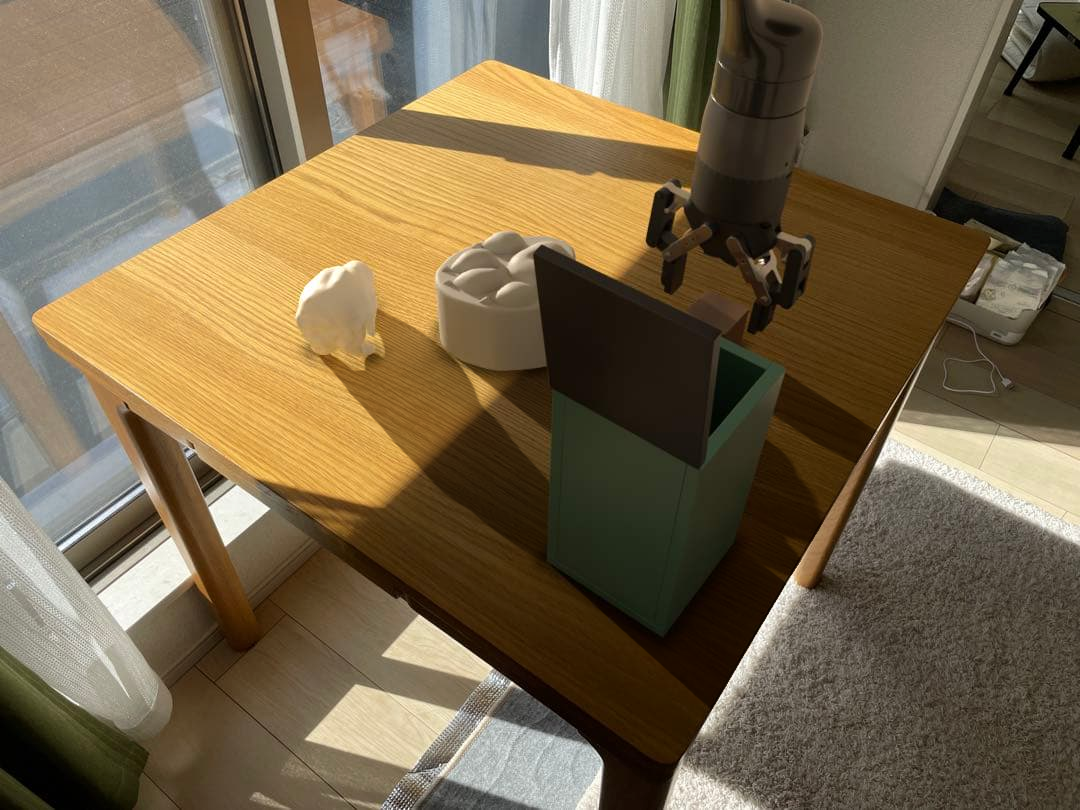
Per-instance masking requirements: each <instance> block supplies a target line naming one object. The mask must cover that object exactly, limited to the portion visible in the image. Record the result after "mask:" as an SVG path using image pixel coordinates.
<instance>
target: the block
mask: <svg viewBox="0 0 1080 810" xmlns="http://www.w3.org/2000/svg"><path fill="white" fill-rule="evenodd" d="M749 311H750V309H749V308H748V307H746V306H744V305H741V304H739V303H737V302H735V301H732V300H731V299H729V298H726V297H724V296H722V295H720V294H717V293H715V292H713V291H711V290H708V289H706V291H704V292H703V293H702V294H701V295H700V296H699V297H698V298H697V299H696V300H695V301H694V302H693V303H692V305H690V306H689V307H688V308H687V309H686V310H685V311H684V312H685V313H687V314H689V315H691V316H693V317H695V318H697V319H699V320H701V321H703V322H705V323H708V324H710V325H712V326H714V327H716V328H718V329H720V330H722V335H721V337H723V338H725V339H727V340H729V341H731V342H733V343H735V344H737V345H739V346H741V344H742V340H743V338H744V337H743V336H744V333H745V329H746V323H747V320H748V316H749Z"/></svg>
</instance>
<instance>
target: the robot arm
mask: <svg viewBox="0 0 1080 810" xmlns="http://www.w3.org/2000/svg"><path fill="white" fill-rule="evenodd" d="M719 25H720V26H719V38H718V44H717V53H716V58H715V64H714V70H713V75H712V76H713V77H712V82H711V87H710V90H709V91H710V92H709V96H708V99H707V102H706V105H705V108H704V112H703V115H702V120H701V125H700V131H699V132H700V133H699V138H698V143H697V144H698V145H697V149H696V155H695V161H694V167H693V174H692V179H691V187H690V192H689V191H687V190H685V189H682V183H681V181H680V180H679V179H678V178H675V177H672V178H670V179H669V180H668V181H667V182H666V183H665V184H663V185H662V186H661V187H659V188H658V189H657V190H656V191H655V192H654V195H653V200H652V204H651V210H650V215H649V219H648V224H647V229H646V230H647V231H646V234H645V235H646V236H645V243H646V245H647V246H648V247H649V248H651V249H654V248H656V249H657V250H658V251H660V252H661V257H662V259H663V260H662V266H661V273H660V283H661V285H662V286H664V287H663V292H664V293H665V294H668V295H669V296H672V295H674V294H675V293H676V291H678V290H679V289H680V288H681V287H682V285H683V283H684V279H685V278H684V277H685V273H686V265H687V260H688V255H689V254H688V252H690V251H691V250H693V249H695V248H696V247H697V246H699V248H701V250H703V252H702V253H703V254H704V255H706V256H708V257H711V258H716V259H720V261H722V262H724V263H725V264H726V265H728V266H731V267H733V268H737V267H738V269H739V271H740V273H741V275H742V277H743V280H744V282H745V283H746V285H747V284H748V285H751V288H752V290H753V293H754V295H755V298H756V299H755V300H754V301H753V304H752V308H751V312H750V317H749V319H748V320H749V321H748V323H747V324H748V325H747V328H746V332H747V333H749V334H751V335H753V336H756V334H757V333H759V332H760V333H762V332H764V330H765V329H766V328H767V327H768V326H769V325H770V324H771V323H772V322H773V319H774V316H775V313H776V309H777V305H778V306H780V308H781V309H784V310H790V309H791V308H792V307H793V306H794V304H795V303H796V302H797V301H798V299H799V298H800V297H802V296H803V295H804V294H805V292H806V288H807V283H808V279H809V274H810V270H811V265H812V262H813V257H814V253H815V248H816V243H817V241H816V238H815V236H814V235H812V234H810V233H806V234H804V235H802V237H797V236H795V235H792V234H789V233H786V232H784V231H783V227H782V224H781V223H782V222H781V221H782V219H781V218H782V215H783V212H784V208H785V204H786V201H787V198H788V194H789V191H790V190H789V189H790V187H791V186H790V184H791V181H792V177H793V174H794V171H795V167H796V163H797V160H798V158H799V156H800V153H801V149H802V146H801V143H802V139H803V136H804V131H805V124H806V112H807V106H808V102H809V98H810V95H811V91H812V87H813V83H814V79H815V76H816V72H817V67H818V63H819V60H820V56H821V51H822V47H823V40H824V30H823V26H822V24H821V21H820V19H819V18H818V17H817V16H816V15H815V14H814V13H812V12H811V11H809V10H808V9H805V8H804V7H801V6H799V5H796V4H794V3H790V2H787V1H785V0H720V23H719ZM681 208H683V213H684V215H685V218H686V220H687V223H688V224H689V227H690V228H689V229H687V231H685V232H683V233H682V234H681V235H679V236H677V235H676V234H674V233H673V232H672V231H673V227H674V222H675V218H676V213H677V212H678V211H679V210H680V209H681ZM774 248H777V249H778V251H779V252H780V258H781V260H780V262H781V264H782V265H785V266H784V271H783V276H782V277H781V276H780V273H779V271H778V269H777V264H778V259H777V257H776V254H775V252H774V250H773V249H774ZM757 259H758V261H757V263H756V264H755V260H757Z"/></svg>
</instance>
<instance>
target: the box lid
mask: <svg viewBox="0 0 1080 810" xmlns="http://www.w3.org/2000/svg"><path fill="white" fill-rule="evenodd" d="M533 260H534V268H535V276H536V284H537V292H538V300H539V308H540V316H541V324H542V332H543V340H544V348H545V356H546V364H547V366H546V372H547V379H548V380H547V381H548V386H549V388H550V389H552V390H553V389H554V390H556V391H557V392H559V393H561V394H563V395H565V396H566V397H568V398H570V399H572V400H574V401H575V402H577V403H579V404H581V405H583V406H584V407H586V408H588V409H590V410H591V411H593V412H595V413H597V414H599V415H600V416H602V417H604V418H606V419H608V420H609V421H611V422H613V423H615V424H617V425H618V426H620V427H622V428H624V429H626V430H627V431H629V432H631V433H633V434H634V435H636V436H638V437H640V438H642V439H643V440H645V441H647V442H649V443H651V444H652V445H654V446H656V447H658V448H660V449H661V450H663V451H665V452H667V453H668V454H670V455H672V456H674V457H676V458H677V459H679V460H681V461H683V462H685V463H686V464H688V465H690V466H692V467H694V468H695V469H697V470H699V469H700V468H701V466H702V465H703V464H704V462H705V461H706V454H707V446H708V438H709V430H710V422H711V414H712V406H713V398H714V391H715V383H716V375H717V367H718V359H719V351H720V343H721V335H722V330H720V329H718V328H716V327H714V326H712V325H710V324H708V323H705V322H703V321H701V320H699V319H697V318H695V317H693V316H691V315H689V314H687V313H685V311H683V310H680V309H678V308H676V307H674V306H673V305H670V304H669V303H668V304H667V303H665V302H663V301H661V300H659V299H657V298H656V297H654V296H651V295H649V294H647V293H645V292H643V291H641V290H638V289H637V288H634V287H632V286H630V285H628V284H626V283H624V282H622V281H620V280H618V279H616V278H614V277H611V276H609V275H608V274H605V273H603V272H601V271H599V270H596V269H595V268H593V267H591V266H589V265H586V264H585V263H583V262H580V261H579V260H577V259H576V260H574V259H572V258H570V257H568V256H566V255H563V254H561V253H559V252H557V251H555V250H553V249H551V248H549V247H547V246H545V245H540V246H539V247H538V248H537V249H536V250H535V251H534V252H533Z"/></svg>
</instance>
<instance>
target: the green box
mask: <svg viewBox="0 0 1080 810" xmlns="http://www.w3.org/2000/svg"><path fill="white" fill-rule="evenodd" d="M786 371H787V368H786V367H785V366H783V365H781V364H778V363H776V362H774V361H772V360H770V359H768V358H766V357H764V356H762V355H760V354H758V353H756V352H754V351H751V350H750V349H747V348H746V347H743V346H741V345H740V346H739V345H737V344H735V343H733V342H731V341H729V340H727V339H725V338H723V337H721V343H720V351H719V359H718V367H717V375H716V383H715V391H714V398H713V406H712V414H711V422H710V430H709V438H708V446H707V454H706V461H705V462H704V464H703V465H702V466H701V468H700V469H699V470H697V469H695V468H694V467H692V466H690V465H688V464H686V463H685V462H683V461H681V460H679V459H677V458H676V457H674V456H672V455H670V454H668V453H667V452H665V451H663V450H661V449H660V448H658V447H656V446H654V445H652V444H651V443H649V442H647V441H645V440H643V439H642V438H640V437H638V436H636V435H634V434H633V433H631V432H629V431H627V430H626V429H624V428H622V427H620V426H618V425H617V424H615V423H613V422H611V421H609V420H608V419H606V418H604V417H602V416H600V415H599V414H597V413H595V412H593V411H591V410H590V409H588V408H586V407H584V406H583V405H581V404H579V403H577V402H575V401H574V400H572V399H570V398H568V397H566V396H565V395H563V394H561V393H559V392H557V391H556V390H554V389H552V404H551V433H550V434H551V435H550V436H551V437H550V462H549V463H550V464H549V468H550V469H549V491H548V492H549V493H548V494H549V495H548V496H549V497H548V523H547V524H548V525H547V526H548V527H547V553H546V555H547V559H546V561H547V563H548V564H550V565H551V566H553V567H555V568H556V569H557V570H558V571H561V572H562V573H563V574H565V575H566V576H568V577H570V578H571V579H573V580H574V581H576V582H577V583H579V584H581V585H582V586H583V587H585V588H587V590H589V591H590V592H593V593H594V594H596V595H597V596H598V597H600V598H602V599H603V600H604V601H606V602H608V603H609V604H610V605H612V606H614V607H615V608H616V609H618V610H620V611H621V612H623V613H624V614H626V615H628V616H629V617H630V618H632V619H634V620H635V621H636V622H638V623H639V624H641V625H642V626H644V627H646V628H647V629H649V630H650V631H652V632H653V633H654V634H656V635H658V636H659V637H661V638H664V637H665V635H666V634H667V633H668V632H669V630H670V629H671V628H672V626H673V625H674V623H675V622H676V621H677V619H678V618H679V617H680V615H681V614H682V613H683V611H684V610H685V609H686V607H687V606H688V605H689V603H690V602H691V601H692V599H693V598H694V596H695V595H696V594H697V593H698V591H699V590H700V589H701V587H702V586H703V585H704V583H705V582H706V580H707V579H708V578H709V576H710V575H711V574H712V573H713V571H714V570H715V568H716V567H717V566H718V565H719V563H720V562H721V560H722V559H723V557H724V556H726V554H727V552H728V551H729V549H730V548H731V547H732V546H733V544H734V543H735V539H736V537H737V533H738V529H739V526H740V524H741V521H742V516H743V515H744V510H745V508H746V503H747V500H748V498H749V497H748V496H749V494H750V491H751V487H752V484H753V480H754V477H755V475H756V470H757V467H758V463H759V460H760V457H761V455H762V450H763V448H764V444H765V440H766V437H767V434H768V430H769V427H770V424H771V421H772V417H773V414H774V411H775V408H776V404H777V400H778V397H779V394H780V391H781V388H782V384H783V381H784V378H785V374H786Z"/></svg>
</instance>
